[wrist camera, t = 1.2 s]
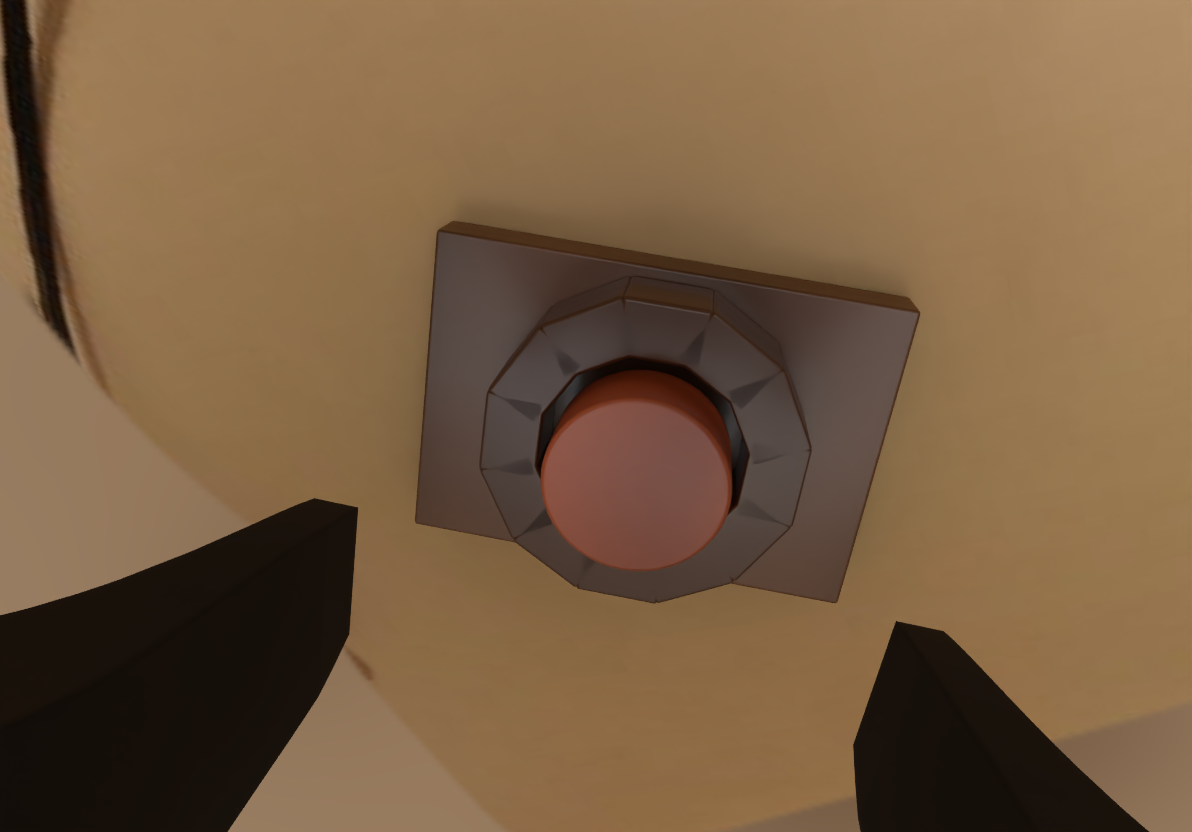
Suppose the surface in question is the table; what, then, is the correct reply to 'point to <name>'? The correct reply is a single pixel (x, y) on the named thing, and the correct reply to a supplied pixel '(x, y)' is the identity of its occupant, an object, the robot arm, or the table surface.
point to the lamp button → (638, 471)
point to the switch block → (670, 345)
